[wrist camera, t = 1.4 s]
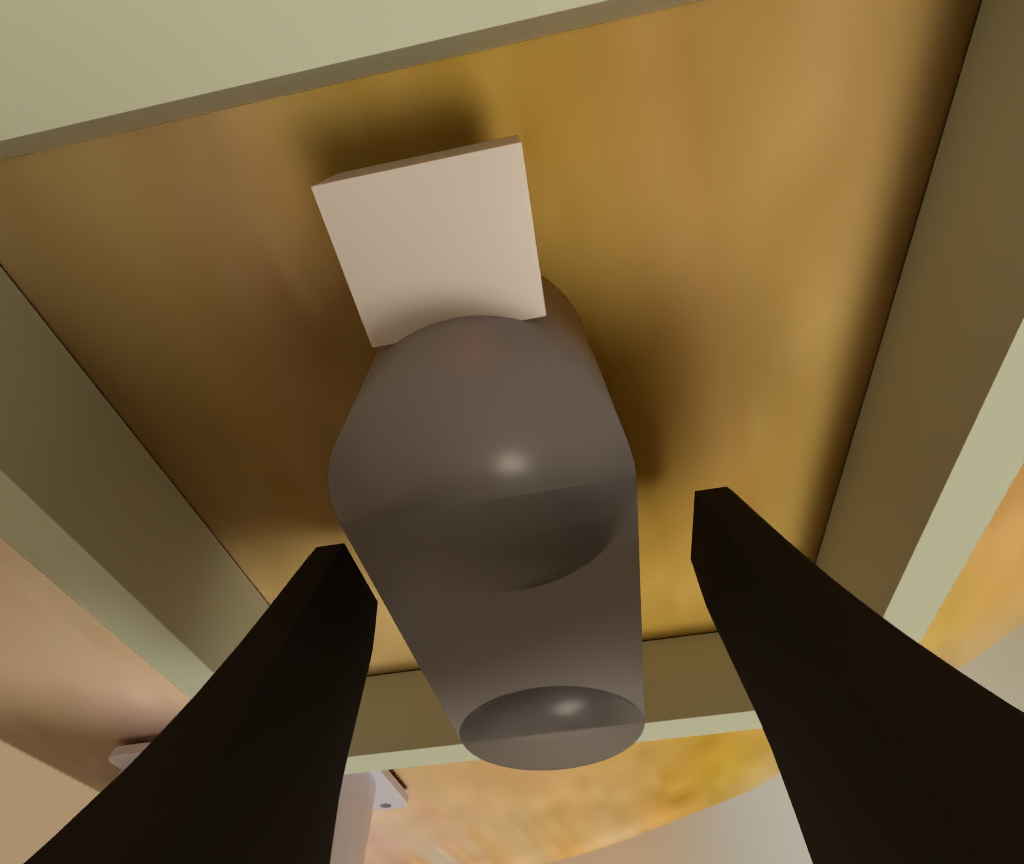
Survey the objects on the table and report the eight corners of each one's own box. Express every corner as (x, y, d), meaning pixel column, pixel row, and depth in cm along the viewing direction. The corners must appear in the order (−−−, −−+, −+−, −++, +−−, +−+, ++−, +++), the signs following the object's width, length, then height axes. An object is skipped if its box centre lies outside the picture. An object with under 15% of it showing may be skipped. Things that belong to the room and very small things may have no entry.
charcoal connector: (484, 628, 15) (481, 778, 12) (315, 171, 8) (175, 228, 4) (611, 610, 15) (646, 760, 11) (565, 118, 7) (624, 135, 4)
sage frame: (310, 702, 17) (287, 780, 15) (-220, 99, 7) (-514, 101, 5) (829, 637, 16) (877, 715, 14) (1159, -243, 5) (1545, -441, 3)
